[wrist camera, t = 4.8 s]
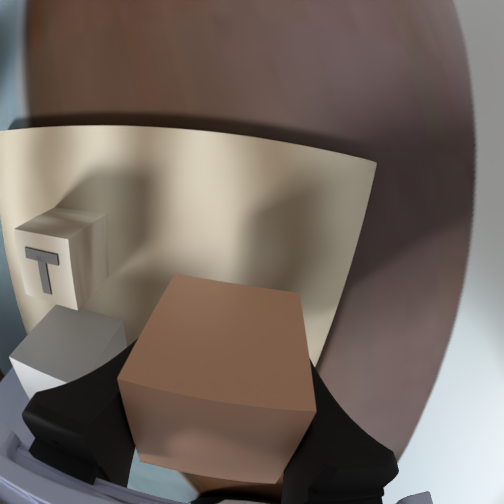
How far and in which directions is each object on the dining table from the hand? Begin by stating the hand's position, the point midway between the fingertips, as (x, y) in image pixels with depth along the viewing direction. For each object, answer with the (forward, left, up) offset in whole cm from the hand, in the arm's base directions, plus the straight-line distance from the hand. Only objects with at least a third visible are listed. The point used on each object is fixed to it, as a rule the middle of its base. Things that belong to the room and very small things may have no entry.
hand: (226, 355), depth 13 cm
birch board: (-6, -1, -6) cm, 8 cm away
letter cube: (-10, +2, -5) cm, 11 cm away
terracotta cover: (0, 0, -2) cm, 2 cm away
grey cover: (-10, -6, -5) cm, 13 cm away
